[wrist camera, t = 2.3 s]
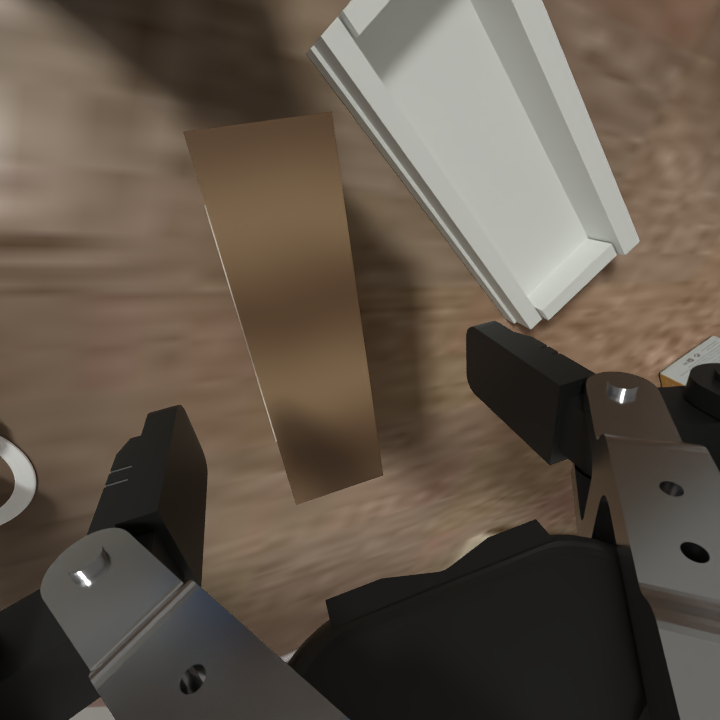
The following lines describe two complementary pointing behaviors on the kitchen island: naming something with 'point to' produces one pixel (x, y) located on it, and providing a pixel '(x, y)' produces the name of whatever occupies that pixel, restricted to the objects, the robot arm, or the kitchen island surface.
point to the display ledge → (485, 139)
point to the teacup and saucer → (17, 480)
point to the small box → (691, 362)
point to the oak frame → (294, 291)
